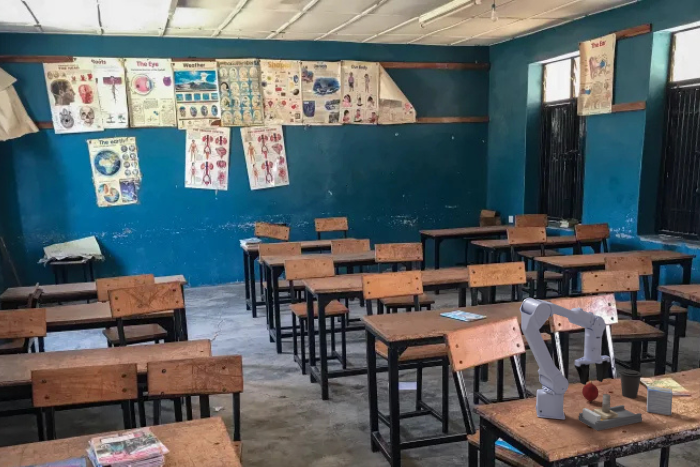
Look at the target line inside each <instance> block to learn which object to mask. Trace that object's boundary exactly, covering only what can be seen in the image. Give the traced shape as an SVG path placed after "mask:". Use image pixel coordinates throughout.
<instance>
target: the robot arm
mask: <svg viewBox="0 0 700 467" xmlns="http://www.w3.org/2000/svg"><path fill="white" fill-rule="evenodd" d="M519 312H520V315H521V317H520V318H521V325H520V326H521V332H522V333H523V335H524V338H525V340H526V342H527V344H528V347H529V348H530V351H531V352H532V354H533V357H534V359H535V361H536V364H537V366H538V367H539V368H538V370H537V374H538V380H539V383H540V385H541V389H539V388H538V389H537V390H536V398H535V400H536V404H535V410H536V416H537V417H538V418H545V419H555V420H556V419H557V420H566V415H565V413H564V412H565V411H564V399H565V394H566V392H567V390H568V388H569V380H568V379H567V378H566V377H564V375H563V374H562V372H561V371H560V370H559V369H558V367H557V366H556V365H555V362H554V361H553V359H552V356H551V353H550V352H549V349H548V347H547V345H546V343H545V340H544V339H543V336H542V334H541V332H540V329H541V328H542V327H543V326H544V324H545V323H546V321H547V320H548V319H549V318H550V317H551V318H552V317H553V316H554V315H557V316H559V317H563V318H567V320H568V322H569V323H570V324H572V325H575V326H578V327H581V328H584V345H583V346H584V349H583V350H584V351H583V353H584V354H583V356H582V357H580V358H577V359H574V367H575V369H576V372H577V374H578V377H579V378H578V379H579V381H580V384H582V385H584V386H585V385H586V384H588V383H587V382H588V374H589V371H590V367H587V365H592V364H593V365H594V364H595V370H596V371H595V372H596V374H595V376H596V377H595V378H596V381H598V382H599V383H603V380H604V378H605V374H606V373H607V371H608V369H609V368H610V366H611V364H610V362H611V361H610V359H611V357H610V356H608V355H602V342H603V341H602V340H603V339H602V338H603V335H604V331H605V330H606V327H607V323H606V322H605V319H604V318H603V317H602V316H600V315H596V314H594V312H592V311H586V310H584V308H582V307H578V306H577V307H574V308H573V307H572V308H571V309H569V308H566V307H564V306H561V305H559V304H556V303H554V302H550V301H546V300H542V299H537V298H536V299H534V297H533V298H532V297H527V298H525V299H524V300H523V301H522V303H521V305H520V307H519Z"/></svg>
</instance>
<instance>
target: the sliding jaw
mask: <svg viewBox="0 0 700 467" xmlns="http://www.w3.org/2000/svg"><path fill="white" fill-rule="evenodd" d="M610 407H611V394H608V393H603V394H602V407H601V408H596V409H595V408H594V409H593V410H594V412H595V413H596V414H598V415H600V416H601V419H603V420H607V419H612V418H617V417H618V414H617V413H615V412H613V411H611V410H610Z"/></svg>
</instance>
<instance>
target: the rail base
mask: <svg viewBox="0 0 700 467" xmlns="http://www.w3.org/2000/svg"><path fill="white" fill-rule="evenodd" d="M610 410H611V411H613V412H615V413H617V414H618V417H617V418H612V419H607V420H603V419H601V416H600V415H598V414H596V413H595V412H594V409H593V410H590V409H589V408H586V407H585V408H582V412H579V414H578V421H579V422H581V423H583V424H585V425H586V426H588V427H590V428H592V429H594V430H595V431H602V430H607V429H612V428H618V427H622V426H627V425H633V424H636V423H642V422H643V417H642V416H643V414H642V413H640V412H638V413H633V412H632V411H629V410H627V409H626V408H625V405H624V404H622V405H621V404H620V405H615V406H610Z"/></svg>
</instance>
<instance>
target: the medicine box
mask: <svg viewBox="0 0 700 467" xmlns="http://www.w3.org/2000/svg"><path fill="white" fill-rule="evenodd" d="M646 390H647V393H646V412H647V413H652V414H659V415H660V414H661V415H666V416H667V415H668V416H672V408H673V396H674V395H673V391H672V389H671V388H668V387H667V388H665V387H661V386H660V387H658V386H651V385H648V386H647V389H646Z"/></svg>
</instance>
